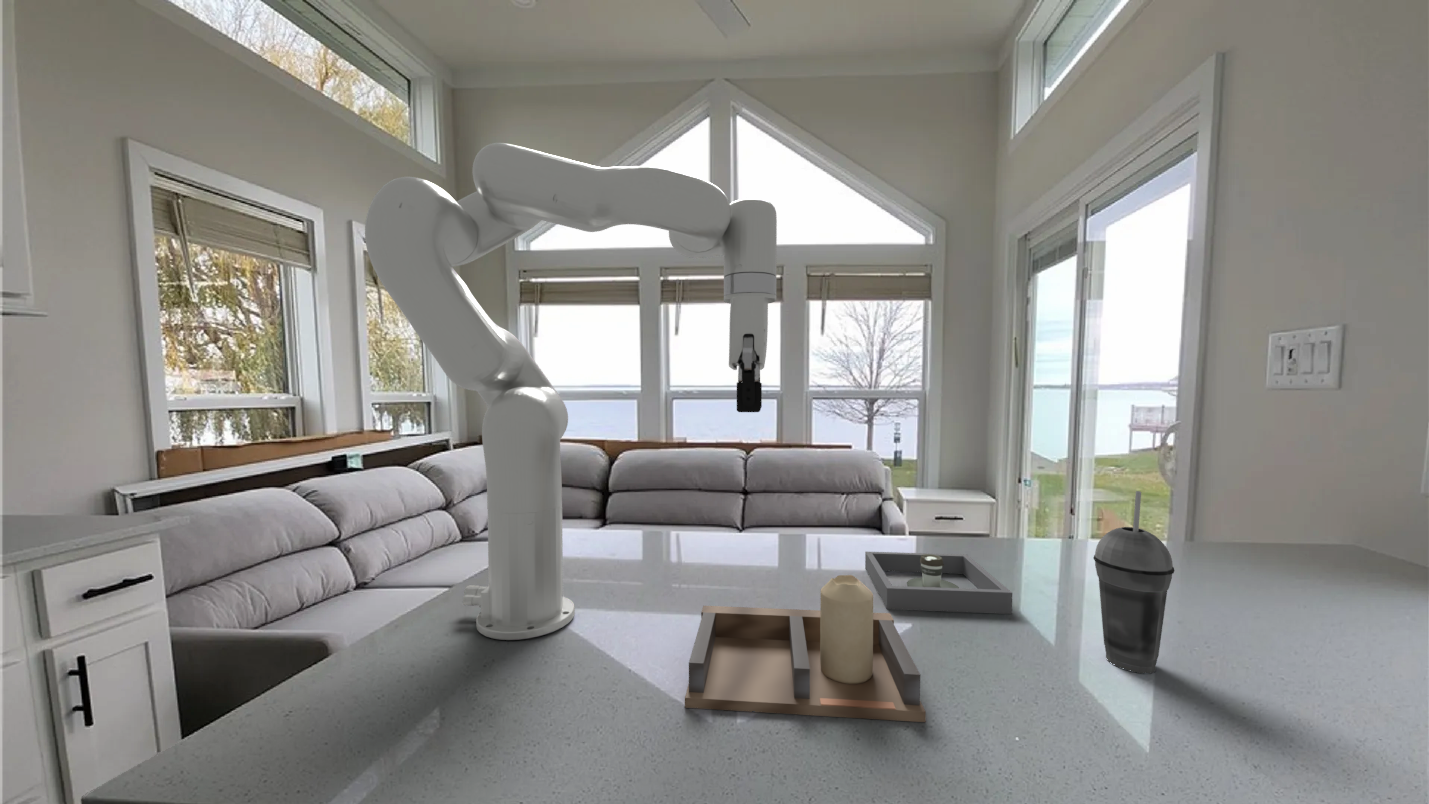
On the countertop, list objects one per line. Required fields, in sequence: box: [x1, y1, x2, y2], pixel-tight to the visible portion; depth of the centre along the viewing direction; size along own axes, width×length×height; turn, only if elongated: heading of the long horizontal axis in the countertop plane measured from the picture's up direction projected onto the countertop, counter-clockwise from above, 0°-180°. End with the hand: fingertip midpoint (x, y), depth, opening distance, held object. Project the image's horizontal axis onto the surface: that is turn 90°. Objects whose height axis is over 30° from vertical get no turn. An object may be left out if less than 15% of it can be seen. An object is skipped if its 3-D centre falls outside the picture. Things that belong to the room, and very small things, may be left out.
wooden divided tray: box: [684, 605, 927, 723], centre depth 59 cm, size 23×15×4 cm, turn 84°
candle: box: [819, 574, 874, 684], centre depth 57 cm, size 6×6×10 cm
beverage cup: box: [1093, 490, 1175, 674], centre depth 61 cm, size 7×7×20 cm
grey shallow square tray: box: [864, 551, 1013, 615], centre depth 84 cm, size 17×17×3 cm
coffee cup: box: [906, 553, 960, 588], centre depth 83 cm, size 12×12×5 cm
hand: (749, 410), depth 77 cm, fingers open, 9 cm apart
